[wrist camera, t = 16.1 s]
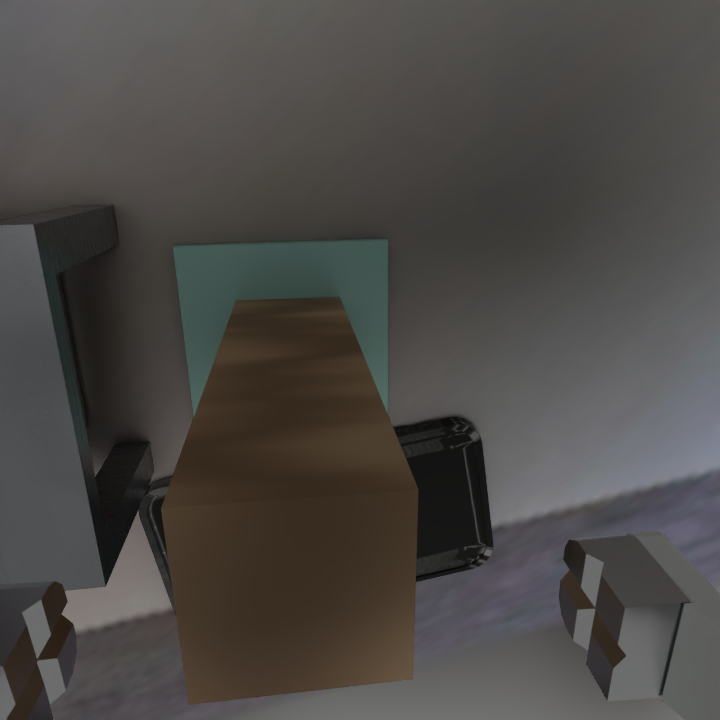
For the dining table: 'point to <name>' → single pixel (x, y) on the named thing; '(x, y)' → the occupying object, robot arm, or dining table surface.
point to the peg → (291, 514)
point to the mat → (282, 292)
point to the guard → (55, 414)
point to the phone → (435, 501)
